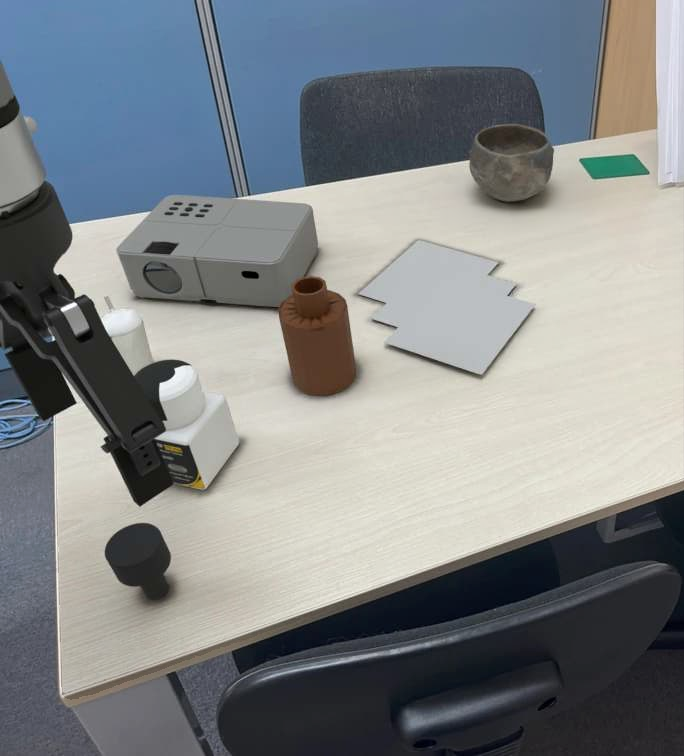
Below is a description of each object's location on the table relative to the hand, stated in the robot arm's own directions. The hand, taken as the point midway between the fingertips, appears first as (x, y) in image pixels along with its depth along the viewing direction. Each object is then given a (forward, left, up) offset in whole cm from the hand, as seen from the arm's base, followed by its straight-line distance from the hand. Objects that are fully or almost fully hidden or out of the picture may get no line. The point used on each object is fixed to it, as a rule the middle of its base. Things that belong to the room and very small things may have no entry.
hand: (103, 449), depth 55 cm
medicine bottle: (+3, +13, -16) cm, 21 cm away
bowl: (+55, +63, -16) cm, 85 cm away
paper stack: (+36, +34, -16) cm, 52 cm away
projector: (+8, +49, -16) cm, 53 cm away
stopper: (0, -2, -16) cm, 16 cm away
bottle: (+18, +23, -16) cm, 33 cm away
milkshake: (-3, +29, -16) cm, 34 cm away
